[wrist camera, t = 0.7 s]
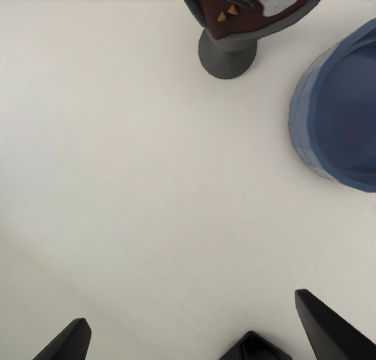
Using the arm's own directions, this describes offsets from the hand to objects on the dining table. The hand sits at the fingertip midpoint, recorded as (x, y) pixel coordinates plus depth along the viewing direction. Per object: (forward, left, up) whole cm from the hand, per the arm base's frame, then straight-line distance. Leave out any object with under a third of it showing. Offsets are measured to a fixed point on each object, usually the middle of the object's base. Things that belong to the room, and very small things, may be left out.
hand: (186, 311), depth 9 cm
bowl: (-6, -16, -13) cm, 21 cm away
